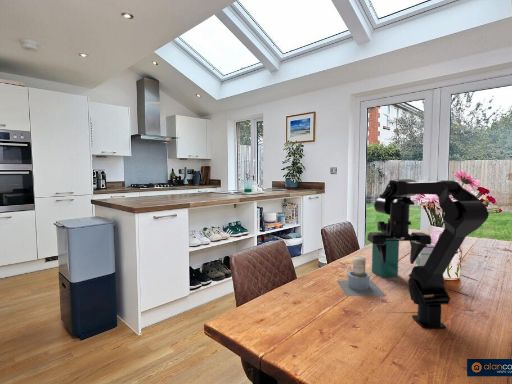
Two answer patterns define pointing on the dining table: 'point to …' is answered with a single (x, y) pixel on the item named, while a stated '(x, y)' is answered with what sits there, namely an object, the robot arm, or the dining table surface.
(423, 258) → the syrup box
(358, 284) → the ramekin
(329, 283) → the dining table surface
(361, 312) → the dining table surface
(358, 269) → the stopper
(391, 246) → the green bottle
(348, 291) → the mat
